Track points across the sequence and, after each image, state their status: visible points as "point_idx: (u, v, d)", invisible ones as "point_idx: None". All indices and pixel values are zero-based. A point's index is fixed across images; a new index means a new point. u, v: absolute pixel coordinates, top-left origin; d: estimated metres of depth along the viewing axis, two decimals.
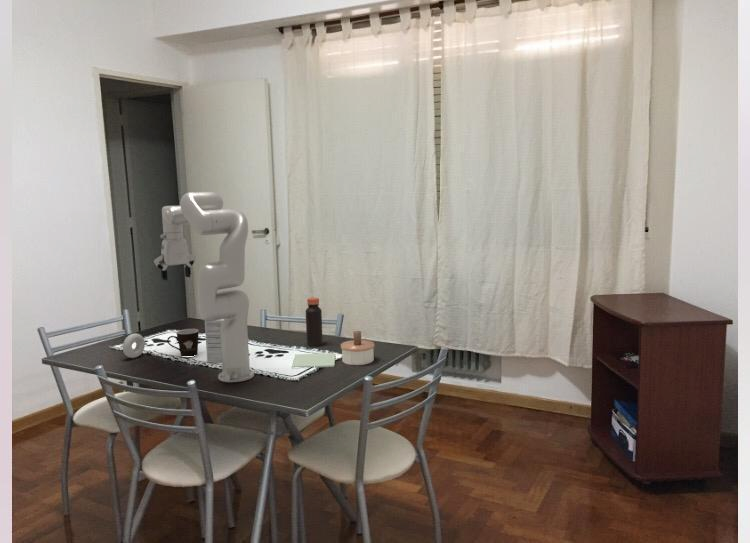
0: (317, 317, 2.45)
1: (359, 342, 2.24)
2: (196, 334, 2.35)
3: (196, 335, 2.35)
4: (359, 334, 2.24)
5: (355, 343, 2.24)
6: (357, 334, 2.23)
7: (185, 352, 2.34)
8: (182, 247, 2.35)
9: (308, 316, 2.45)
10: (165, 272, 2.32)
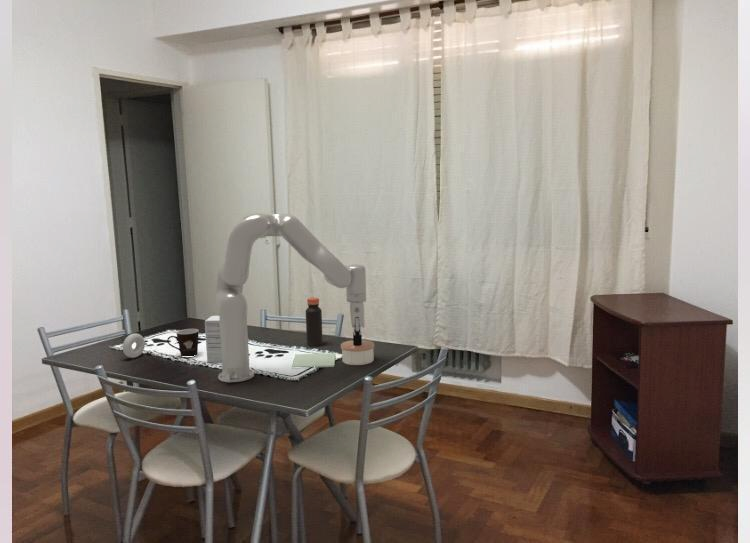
0: (317, 317, 2.45)
1: None
2: (196, 334, 2.35)
3: (196, 335, 2.35)
4: None
5: None
6: None
7: (185, 352, 2.34)
8: None
9: (308, 316, 2.45)
10: (361, 336, 2.23)
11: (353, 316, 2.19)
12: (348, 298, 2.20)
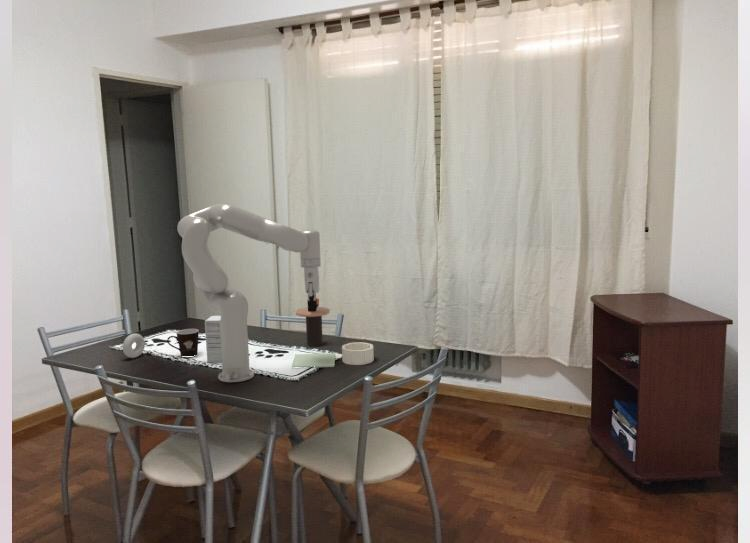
0: (317, 317, 2.45)
1: None
2: (196, 334, 2.35)
3: (196, 335, 2.35)
4: None
5: None
6: None
7: (185, 352, 2.34)
8: None
9: None
10: (316, 302, 2.21)
11: (306, 281, 2.17)
12: (302, 263, 2.18)
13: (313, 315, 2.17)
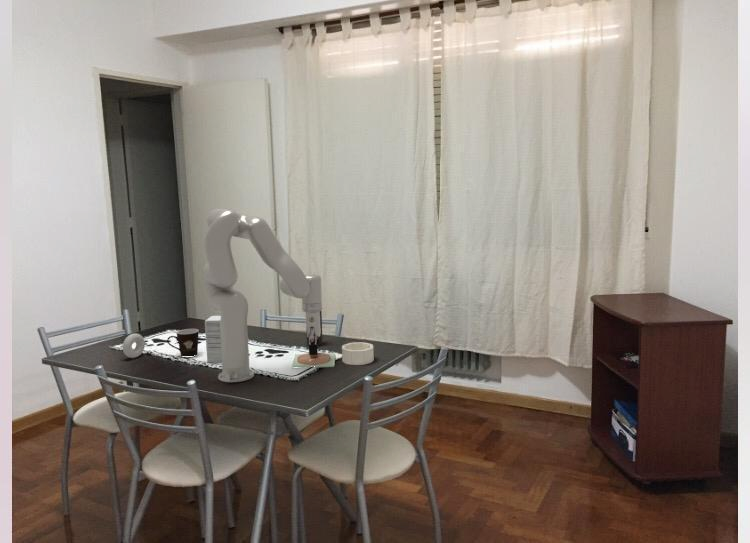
0: None
1: (315, 355, 2.25)
2: (196, 334, 2.35)
3: (196, 335, 2.35)
4: None
5: (311, 356, 2.25)
6: None
7: (185, 352, 2.34)
8: None
9: None
10: (317, 346, 2.22)
11: (308, 326, 2.19)
12: (303, 308, 2.21)
13: (314, 363, 2.20)
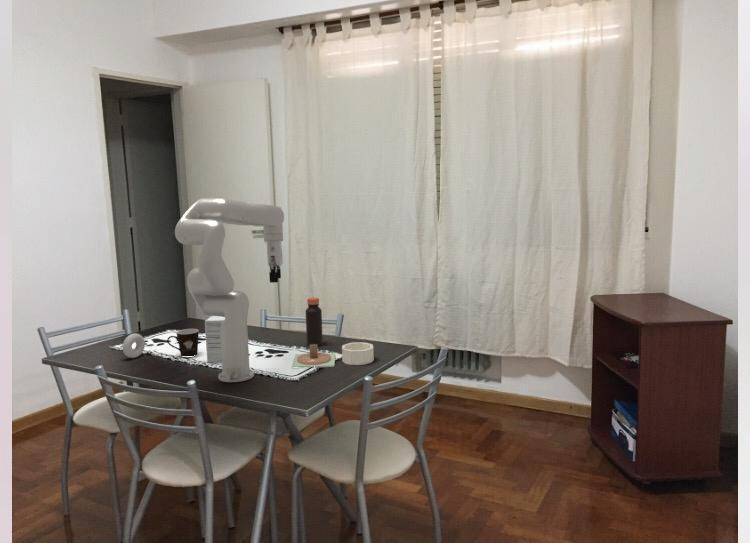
0: (317, 317, 2.45)
1: (315, 355, 2.25)
2: (196, 334, 2.35)
3: (196, 335, 2.35)
4: (315, 347, 2.24)
5: (311, 356, 2.25)
6: (313, 347, 2.24)
7: (185, 352, 2.34)
8: (281, 247, 2.33)
9: (308, 316, 2.45)
10: (277, 274, 2.28)
11: (269, 255, 2.27)
12: (265, 238, 2.28)
13: (314, 363, 2.20)
